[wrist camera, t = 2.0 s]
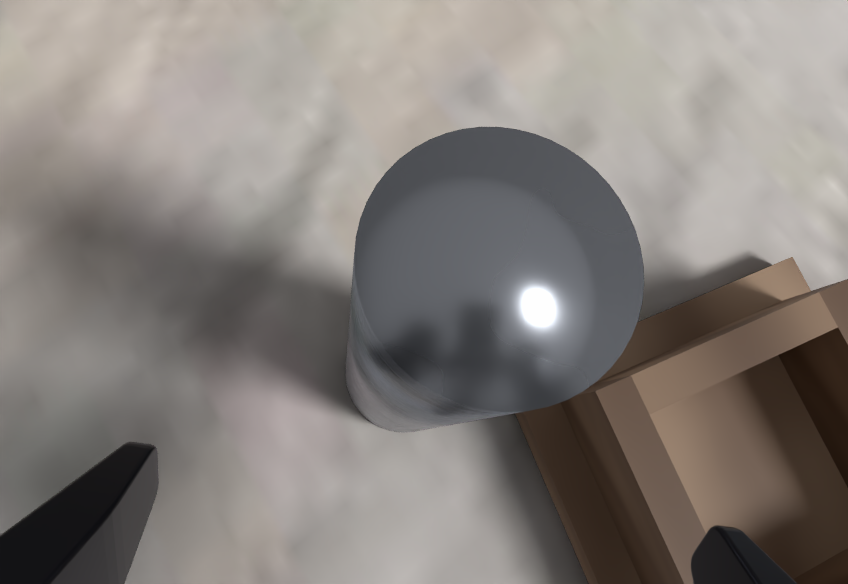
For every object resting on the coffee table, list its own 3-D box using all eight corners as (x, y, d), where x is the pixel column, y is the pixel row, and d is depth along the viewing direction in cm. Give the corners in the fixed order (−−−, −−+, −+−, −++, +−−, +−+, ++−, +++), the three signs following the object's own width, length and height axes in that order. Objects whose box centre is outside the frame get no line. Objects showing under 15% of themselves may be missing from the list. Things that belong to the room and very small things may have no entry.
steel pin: (371, 451, 20) (424, 462, 7) (328, 339, 21) (310, 176, 8) (480, 405, 21) (693, 344, 8) (435, 298, 21) (568, 94, 9)
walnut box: (656, 738, 19) (736, 813, 15) (500, 380, 21) (536, 365, 17) (937, 568, 21) (1067, 595, 18) (773, 264, 24) (858, 229, 20)
